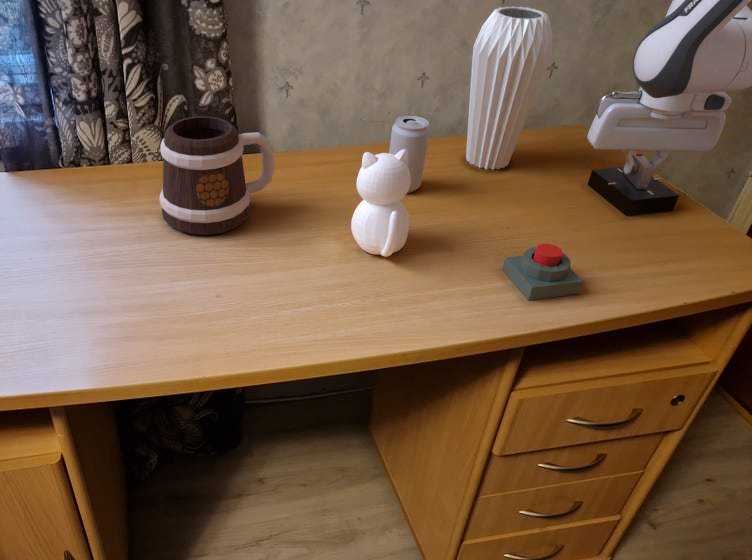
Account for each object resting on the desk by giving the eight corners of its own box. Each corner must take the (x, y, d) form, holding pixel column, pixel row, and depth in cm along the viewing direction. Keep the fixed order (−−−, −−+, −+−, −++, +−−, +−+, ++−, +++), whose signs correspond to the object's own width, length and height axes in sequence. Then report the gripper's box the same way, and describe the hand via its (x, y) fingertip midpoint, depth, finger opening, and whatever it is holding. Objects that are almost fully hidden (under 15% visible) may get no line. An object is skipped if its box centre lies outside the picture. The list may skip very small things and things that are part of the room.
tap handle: (646, 189, 116) (655, 166, 113) (637, 189, 116) (646, 166, 113) (632, 174, 121) (641, 151, 118) (623, 173, 121) (631, 151, 118)
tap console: (675, 210, 117) (683, 194, 115) (623, 216, 115) (629, 199, 113) (633, 180, 126) (639, 163, 123) (584, 184, 124) (589, 168, 122)
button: (564, 265, 97) (567, 255, 95) (541, 268, 96) (544, 258, 95) (551, 252, 99) (554, 242, 98) (528, 255, 99) (531, 244, 97)
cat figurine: (392, 224, 112) (405, 136, 103) (421, 265, 103) (437, 172, 93) (340, 230, 111) (348, 141, 101) (364, 271, 102) (375, 178, 92)
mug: (176, 245, 107) (167, 154, 97) (150, 203, 117) (140, 117, 107) (291, 222, 113) (294, 134, 103) (257, 183, 123) (257, 100, 113)
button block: (578, 293, 98) (587, 270, 95) (528, 300, 96) (535, 276, 94) (550, 264, 104) (557, 241, 101) (502, 270, 102) (508, 247, 100)
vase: (437, 158, 132) (463, 10, 115) (481, 141, 138) (512, -2, 121) (493, 182, 124) (529, 28, 107) (536, 163, 130) (578, 14, 113)
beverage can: (407, 175, 126) (416, 111, 118) (427, 190, 122) (438, 124, 114) (378, 182, 124) (385, 117, 116) (397, 197, 120) (407, 131, 112)
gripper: (610, 97, 106) (583, 179, 115) (742, 100, 106) (705, 182, 115) (597, 83, 111) (572, 163, 120) (723, 86, 110) (689, 166, 119)
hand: (638, 172), depth 117 cm, fingers closed on tap handle, 2 cm apart
